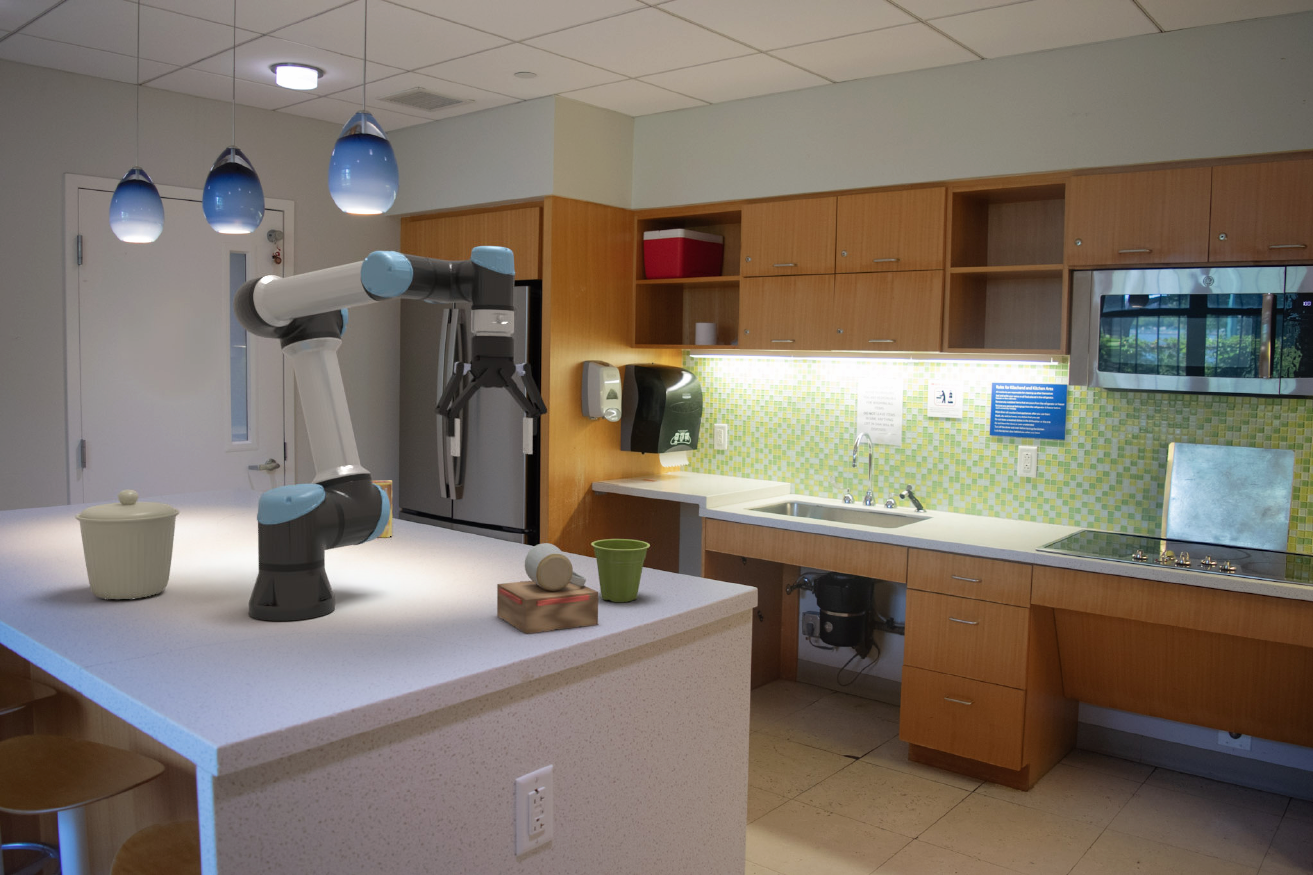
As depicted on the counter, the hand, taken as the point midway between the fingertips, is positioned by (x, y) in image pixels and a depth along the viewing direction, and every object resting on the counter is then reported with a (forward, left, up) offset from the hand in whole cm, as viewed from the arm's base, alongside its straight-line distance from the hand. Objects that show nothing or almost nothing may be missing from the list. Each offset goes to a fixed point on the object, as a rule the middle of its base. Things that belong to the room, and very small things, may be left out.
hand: (492, 454), depth 173 cm
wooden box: (+10, -2, -31) cm, 32 cm away
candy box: (+4, +100, -31) cm, 105 cm away
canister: (-56, +53, -31) cm, 83 cm away
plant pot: (+30, +7, -31) cm, 44 cm away
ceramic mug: (+12, -2, -25) cm, 28 cm away
